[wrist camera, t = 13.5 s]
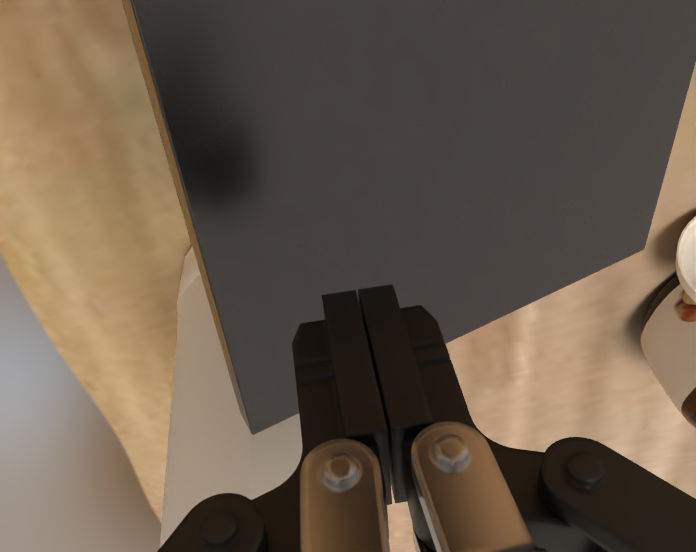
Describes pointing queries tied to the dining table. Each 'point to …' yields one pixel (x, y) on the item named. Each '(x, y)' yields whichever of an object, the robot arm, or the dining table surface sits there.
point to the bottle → (214, 420)
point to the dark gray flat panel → (406, 154)
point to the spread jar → (675, 329)
